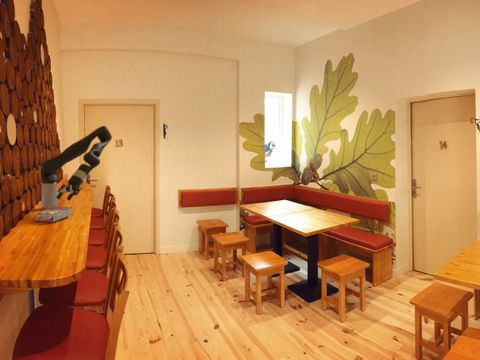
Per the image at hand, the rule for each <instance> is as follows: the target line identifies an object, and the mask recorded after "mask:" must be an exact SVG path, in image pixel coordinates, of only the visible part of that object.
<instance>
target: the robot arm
mask: <svg viewBox="0 0 480 360" xmlns="http://www.w3.org/2000/svg"><path fill="white" fill-rule="evenodd" d="M96 138H97V139H98V141H99V142H96V143H94V144H92V142H93V141H94V140H95V139H96ZM112 138H113V136H112V134H111V132H110V130H109V128H108V127H107V125H102V126H99V127H97V128H96V129H95V130H93V131H92V132H90V133H88V135H86V136H84V137H82V138H81V139H79V140H77V141H76V142H73V143H72V144H71V145H69V146H68V147H66V148H65V149H64V150H63V151H62V152H61V153H60V154H57V155H56V156H54V157H52V158H45V159H44V160H43V161H41V163H40V178H41V192H42V193H41V196H40V198H41V209H43V210H46V209H49V208H52V207H55V206H56V207H59V200H60V199H61V198H62V197H63V195H64V194H68V193H69V194H68V195H67V197H66V200H67V201H71V199H72V198H73V197H75V196H79V195H78V194H79V193H80V191H81V190H82V187H81V185H82V184H84V182H85V180H86V179H87V177H88V175H90V174H89V173H91V171H92V170H93V169H96V168H97V167H99V165H100V163H101V159H100V156H101V154H102V152H103V150H104V149H105V147H106V146H107V145H108V144H110V142H111V140H112ZM91 144H92V146H91ZM90 146H91V148H90ZM89 148H90V150H89ZM88 150H89V151H88ZM87 151H88V152H87ZM82 155H83V156H82ZM81 156H82V158H83V159H82V160H83V161H84V162H85V163H87V164H85V163H81V164H80V165H79V166H78V168H77V169H76V171H74V172H73V173H72V175H71V177H70V178H69V179H68V180H67V184H65V183H63V184H61V185H60V188H59V189H58V177H57V171H58V170H59V169H61V168H62V167H63V166H65V165H66V164H67V163H69V162H72V161H73V160H76V159H77V158H78V157H81Z"/></svg>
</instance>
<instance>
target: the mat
mask: <svg viewBox="0 0 480 360" xmlns="http://www.w3.org/2000/svg"><path fill="white" fill-rule="evenodd" d="M68 218H69V216H67V217H65V218H62V219H60V220H57V221H54V222H58V221H63V220H68ZM34 221H35V222H37V221H36V219H34ZM38 222H39V223H45V224H46V223H47V224H50V223H51V222H46V221H38ZM54 222H53V223H54Z"/></svg>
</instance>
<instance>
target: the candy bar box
mask: <svg viewBox="0 0 480 360" xmlns="http://www.w3.org/2000/svg"><path fill="white" fill-rule="evenodd" d="M72 213H73V212H72V207H70V206H69V207H67V206H58V207H56V206H55V207H52V208H49V209H43V210H41V211H37V212H35V220H36V221H35V222H39V221H46V222H50V223H54V221H55V222H58V221H57V220H59V221H61V220H60V219H62V218H65V217H70V216H71V215H73V214H72Z"/></svg>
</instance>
